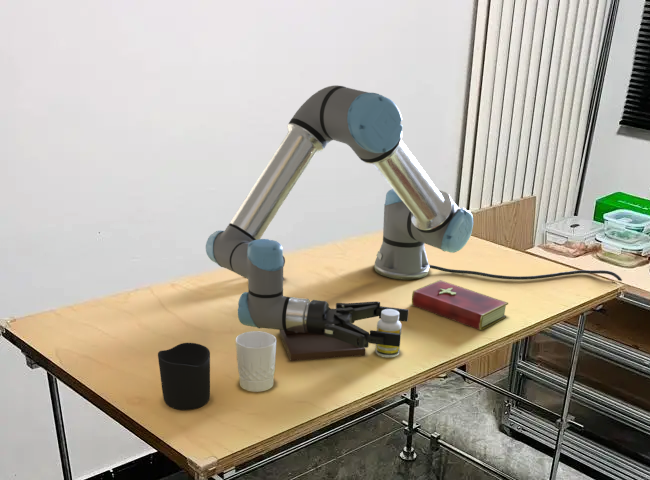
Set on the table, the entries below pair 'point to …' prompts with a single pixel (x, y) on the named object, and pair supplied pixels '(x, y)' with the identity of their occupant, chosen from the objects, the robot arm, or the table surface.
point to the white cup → (256, 360)
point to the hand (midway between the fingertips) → (404, 327)
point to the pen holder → (185, 376)
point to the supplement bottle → (388, 325)
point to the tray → (316, 346)
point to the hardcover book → (459, 304)
